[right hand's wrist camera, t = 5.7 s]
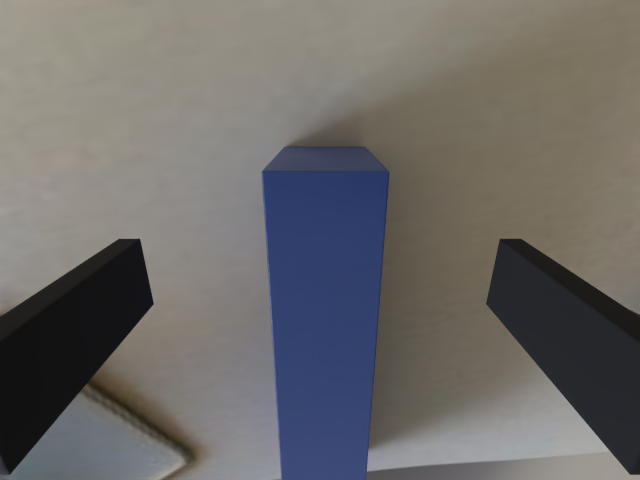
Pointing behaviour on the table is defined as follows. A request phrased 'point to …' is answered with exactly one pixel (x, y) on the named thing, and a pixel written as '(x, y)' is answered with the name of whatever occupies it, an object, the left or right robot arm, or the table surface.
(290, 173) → the bar
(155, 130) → the table surface
